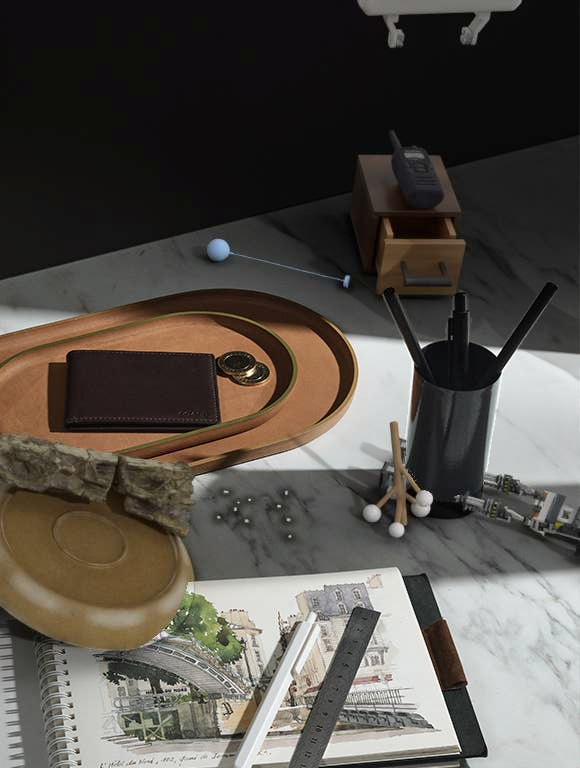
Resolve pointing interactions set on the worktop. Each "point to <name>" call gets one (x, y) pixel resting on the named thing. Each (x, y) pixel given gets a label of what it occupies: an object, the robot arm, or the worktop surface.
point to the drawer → (417, 255)
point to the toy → (545, 514)
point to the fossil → (101, 478)
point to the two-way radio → (416, 175)
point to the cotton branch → (400, 492)
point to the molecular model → (221, 250)
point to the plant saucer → (88, 569)
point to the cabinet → (390, 201)
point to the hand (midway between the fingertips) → (431, 44)
